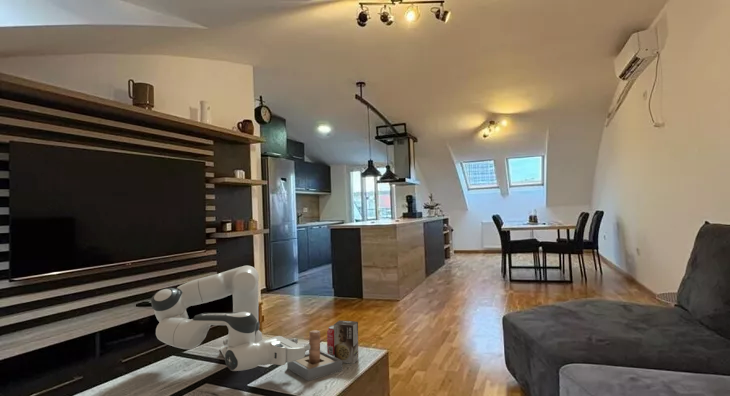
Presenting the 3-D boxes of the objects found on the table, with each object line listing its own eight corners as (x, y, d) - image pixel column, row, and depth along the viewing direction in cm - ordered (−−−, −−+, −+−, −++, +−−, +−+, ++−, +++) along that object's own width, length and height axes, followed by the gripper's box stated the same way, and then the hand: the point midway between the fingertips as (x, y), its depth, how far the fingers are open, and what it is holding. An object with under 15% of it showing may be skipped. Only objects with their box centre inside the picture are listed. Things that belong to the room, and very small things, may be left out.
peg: (306, 366, 165) (307, 331, 165) (316, 364, 167) (316, 329, 168) (312, 369, 161) (313, 334, 162) (322, 367, 164) (322, 332, 165)
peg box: (287, 368, 165) (287, 358, 166) (320, 359, 175) (320, 350, 176) (307, 380, 153) (307, 370, 153) (342, 370, 163) (342, 360, 163)
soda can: (343, 351, 186) (343, 325, 186) (341, 356, 179) (341, 329, 179) (328, 351, 187) (328, 324, 187) (325, 356, 180) (325, 328, 180)
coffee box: (358, 359, 176) (358, 321, 177) (353, 364, 170) (353, 325, 170) (339, 356, 179) (339, 319, 180) (333, 361, 173) (333, 323, 173)
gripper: (258, 352, 160) (289, 345, 169) (283, 367, 144) (316, 358, 153) (258, 335, 160) (290, 329, 169) (284, 349, 144) (316, 341, 153)
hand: (303, 343), depth 161 cm, fingers open, 8 cm apart
